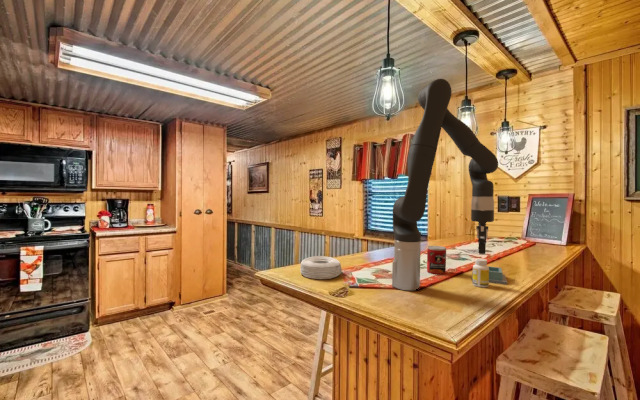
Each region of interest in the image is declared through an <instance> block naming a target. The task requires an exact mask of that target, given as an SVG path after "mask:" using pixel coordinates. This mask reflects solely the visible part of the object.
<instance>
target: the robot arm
mask: <svg viewBox="0 0 640 400" xmlns="http://www.w3.org/2000/svg"><path fill="white" fill-rule="evenodd" d="M452 91H453V90H452V85H451V84H450V83H449V81H448V80H446V79H444V78H437V79H434V80H432V81H431V82H429V83H428V84H427V85H426V86H423V88H422V89H421V90H420V92H419V93H418V95H417V96H418V97H417V100H418V101H417V102H418V103H419V105H420V107H421V108H422V109H423V110H424V112H423V114H422V119H421V121H420V123H419V125H418V127H417V129H416V130H415V132H414V135H413V137H412V138H411V142H410V145H409V150H408V154H407V160H406V161H407V177H408V178H407V180H408V181H407V186H406V190H405V193H404V196H400V197H398V198H397V199H396V200H395V202H394V203H393V208H392V231H393V235H394V242H393V243H394V248H393V249H394V250H393V251H394V254H393V258H394V259H393V260H392V264H391V265H392V267H391V268H392V270H391V271H392V273H391V274H392V275H391V277H392V278H391V280H392V281H391V286H392V288H395V289H398V290H402V291H417V290H416V289H418V288H419V287H420V288H421V251H422V249H421V247H422V245H421V244H422V243H421V241H422V234H421V232H420V231H419V228H418V222H419V221H420V220H422V218H423V216H424V214H425V213H426V212H425V211H426V206H427V198H428V197H427V196H428V188H429V184H430V178H431V175H432V171H433V167H434V162H435V158H436V154H437V150H438V146H439V145H438V144H439V139H440V137H441V131H442V129H443V130H444V131H445V133H446V134H447V135H448V137H450V139H451V140H452V141H453V143H454V144H455V146H456V147H457V149H458V150H459V151H460V152H461V154H462V155H463V156H466V157H469V158H471V159H470V160H469V163H468V173H469V179H470V182H471V186H472V188H471V201H470V202H471V204H470V205H471V206H470V207H471V208H470V211H471V212H470V220H471V222H475V223H477V225H476V226H475V227H476V229H475V230H476V238H477V243H478V254H479V255H485V254H486V250H487V249H486V248H487V247H486V244H487V239H488V234H489V233H488V232H489V226H487V223H493V222H494V221H495V199H494V183H493V181H492V180H489V179H488V176H487V175H489V174H492V173H494V172H496V171H497V170H498V168H499V161H498V158H497V156H496V155H495V154H494V153H493V152H492V151H491V150H490V149H489V148H488V147H487V146H486V145H484V144H483V143H482V142H481V141H480V140H479V139H478V137H477V136H476V134H475V133H474V132H473V130H472V129H471V128H470V127H469V126H468V125H467V124H466V123H465V122H463V121H462V120H460V119H459V118H458V117H456V116H455V115H454V114H453V112H451V111H450V110H449V109H448V107H449V104H450V101H451V98H452ZM420 288H419V289H420ZM419 289H418V290H419Z"/></svg>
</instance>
